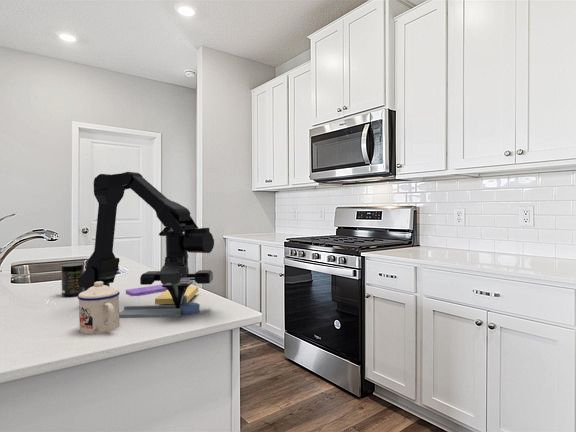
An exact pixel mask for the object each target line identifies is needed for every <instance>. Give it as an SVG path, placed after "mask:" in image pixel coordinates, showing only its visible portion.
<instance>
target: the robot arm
mask: <svg viewBox="0 0 576 432" xmlns="http://www.w3.org/2000/svg"><path fill="white" fill-rule="evenodd" d="M126 190H132V191H133V192H134V193H135V194H136V195H137V196H139V198H141V199H142V200H143V201H144V202H145V203H146V204H147V205H148V206H150V207H151V208H152V209H153V210H154V211H155V213H156V217H157V219H158V220H159V222H161V224H162V225H163V226H164V227H163V229H162V230H161V231H160V232H159V233H158V236H159V237H165V249H166V250H165V257H164V263H163V266H162V267H161V268H160V270H149V271H146V272H144V273H142V274H141V275H140V277H139V278H140V279H139V282H140V285H145V286H146V285H147V286H149V285H150V286H152V285H153V284H154V283H155V282H160V284H161V285H162V287H165V288H166V289H167V290H168V291H169V292H170V294H171V296H172V299H173V301H174V304H173V305H175V306H176V308H180V306H181V303H182V300H183V297H184V294H185V292H186V290H187V288H188V287H191V285H192V284H193V283H194V282H195V283H196V284H197V285H200V284H201V285H203V284H210V283H211V282H212V281H214V273H213V271H212V270H211V269H204V270H203V269H202V270H201V269H200V270H198V271H196V272H195V273H189V272H190V270H189V254H188V253H191V254H192V253H194V254H210V253H211V252H212V251H213V249H214V247H215V239H214V236H213V234H212V233H211V232H210V227H200V228H199V226H198V225H197V224H196V223H195V220H194V219H193V217H192V216H191V212H190V210H189V209H188V208H187V207H186V206H183V205H181V204H180V203H178V202H176V201H174V200H171V199H169V198H168V197H166V196H165V195H164V194H163V193H162V192H160V190H158V189H157V188H156V187H155V186H153V185H152V184H151V183H150V182H149V181H148V180H146V179H145V178H144V177H143V175H142V174H141V173H140V172H135V171H133V172H132V171H126V172H121V173H114V174H109V173H108V174H107V173H100V174H98V175H97V176H96V177H94V179H93V194H94V197H95V199H96V201H97V203H98V207H97V208H98V209H97V216H96V217H97V219H96V228H95V230H96V231H95V241H94V250H93V253H91V255H90V257H89V258H88V259H87V263H86V267H85V270H84V273H83V275H82V276H81V277H80V278H79V280H78V283H79V287H83V288H84V291H86V290H88V289H89V288H90V287H93V286H94V283H95V282H98V281H102V282H103V285H106V286H109V287H111V286H110V284H113V283H114V282H115V278H116V275H117V274H118V272H119V271H120V268H119V264H120V258H119V257H116V255H115V254H114V242H115V241H114V239H115V230H116V221H117V220H116V219H117V212H118V211H117V210H118V208H117V207H118V204H119V203H120V202H121V200H122V199H123V198H124V195H125V191H126ZM179 282H180V284H179V285H178V283H179Z"/></svg>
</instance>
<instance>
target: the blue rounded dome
mask: <svg viewBox="0 0 576 432" xmlns="http://www.w3.org/2000/svg"><path fill="white" fill-rule="evenodd" d="M199 312H200V304H199V303H198V302H194V301H193V302H192V301H189V302H186V303H182V304H181V312H180V313H181V314H182V315H183V316H185V315H186V316H190V315H195V314H198V313H199Z"/></svg>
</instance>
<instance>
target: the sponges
mask: <svg viewBox="0 0 576 432" xmlns="http://www.w3.org/2000/svg"><path fill="white" fill-rule="evenodd" d="M162 285H163V284H162V283H160V284H156V285H150V286H149V285H147V286H141V287H136V288H130V289H129V288H128V289H125V293H126V295H129V296H131V297H139V296H140V297H141V296H146V295H152V294H158V293H164V292H165V291H166V290H167V289H166V288H165V287H162Z"/></svg>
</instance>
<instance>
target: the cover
mask: <svg viewBox="0 0 576 432" xmlns="http://www.w3.org/2000/svg"><path fill="white" fill-rule="evenodd" d="M198 292H199V286H198V285H195V286H189V287H188V288H187V290H186V292H185V294H184V297H183V300H182V303H186V302H190V301H191V300H192V298H194V296H195V295H197V294H198ZM182 303H181V304H182ZM154 305H175V304H174V301H173V299H172V296H171V294H170V292H169V291H168V290H166V291H165V292H161V294H159V295H158V296H156V297H155V298H154Z"/></svg>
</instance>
